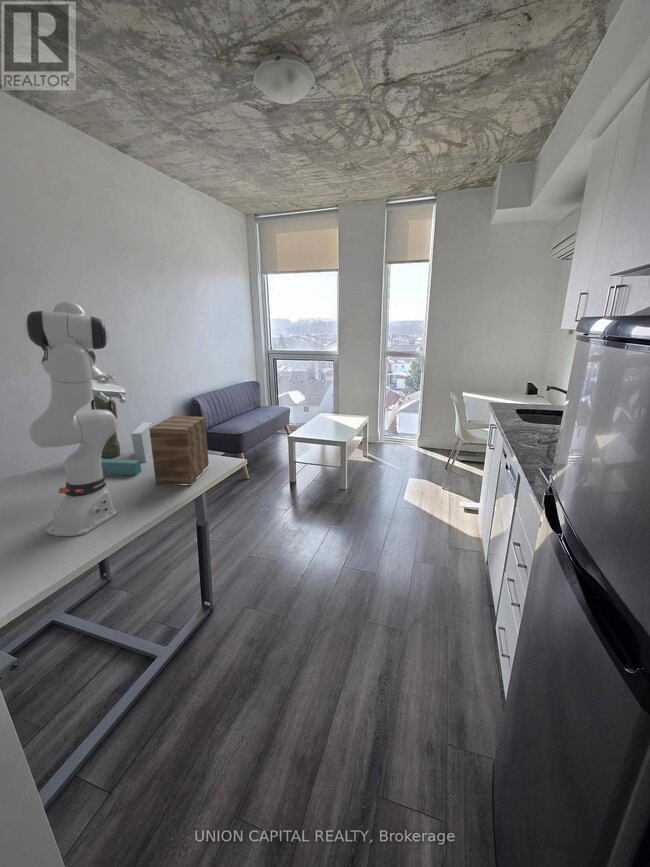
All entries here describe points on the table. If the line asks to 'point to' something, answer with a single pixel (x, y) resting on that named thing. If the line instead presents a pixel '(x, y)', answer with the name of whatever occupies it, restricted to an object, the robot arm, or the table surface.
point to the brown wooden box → (179, 449)
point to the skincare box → (142, 442)
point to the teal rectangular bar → (121, 467)
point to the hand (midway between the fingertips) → (116, 401)
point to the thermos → (112, 444)
